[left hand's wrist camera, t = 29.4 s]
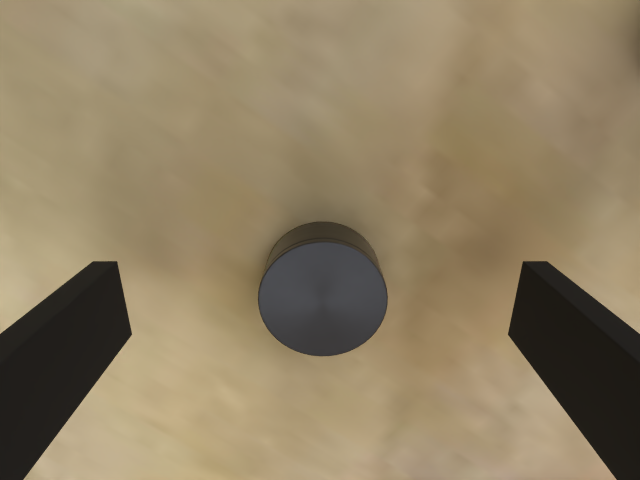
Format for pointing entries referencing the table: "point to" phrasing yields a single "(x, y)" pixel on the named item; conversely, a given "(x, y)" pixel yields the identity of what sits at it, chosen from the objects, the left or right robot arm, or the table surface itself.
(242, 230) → the table surface
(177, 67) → the table surface
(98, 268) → the left robot arm
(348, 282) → the lid
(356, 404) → the table surface
